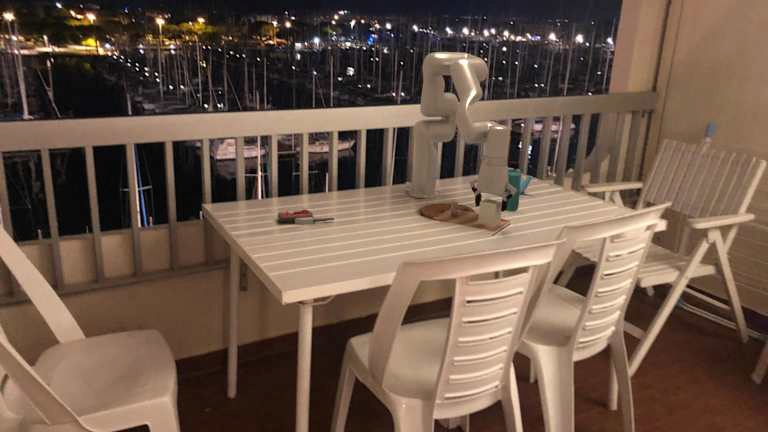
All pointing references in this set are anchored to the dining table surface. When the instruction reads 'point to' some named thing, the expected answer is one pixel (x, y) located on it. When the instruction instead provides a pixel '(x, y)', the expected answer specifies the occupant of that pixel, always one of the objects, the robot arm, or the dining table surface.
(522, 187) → the teapot
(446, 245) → the dining table surface
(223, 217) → the dining table surface
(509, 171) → the beverage bottle
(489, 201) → the beige upright block
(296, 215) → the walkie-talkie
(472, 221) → the board
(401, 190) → the dining table surface
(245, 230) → the dining table surface
